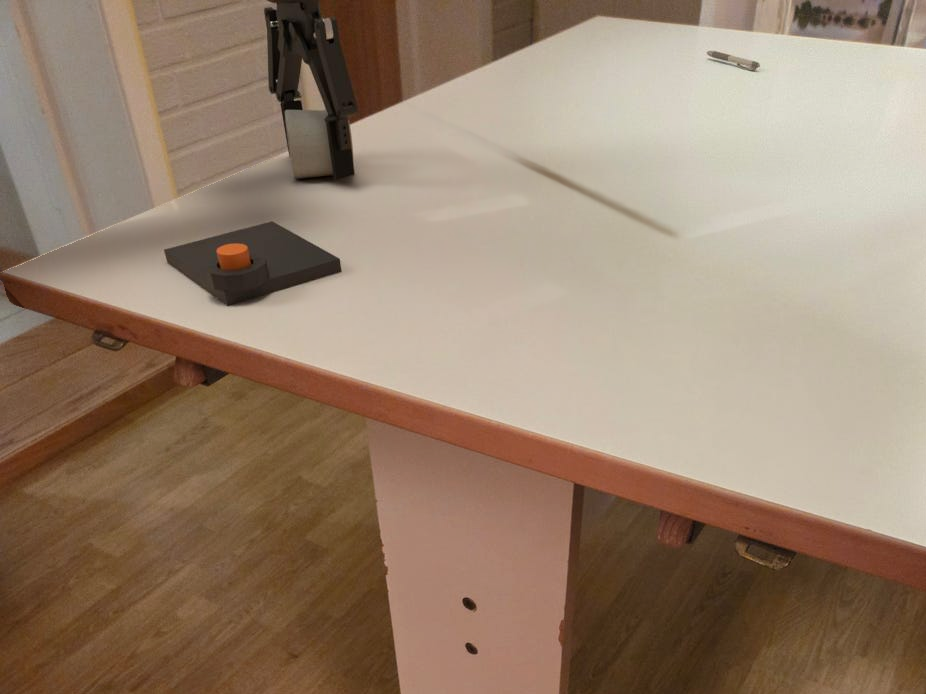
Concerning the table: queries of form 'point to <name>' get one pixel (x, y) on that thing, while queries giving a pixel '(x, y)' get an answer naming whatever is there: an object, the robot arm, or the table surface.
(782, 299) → the table surface
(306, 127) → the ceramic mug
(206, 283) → the dark grey flat block
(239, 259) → the button
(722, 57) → the pen
